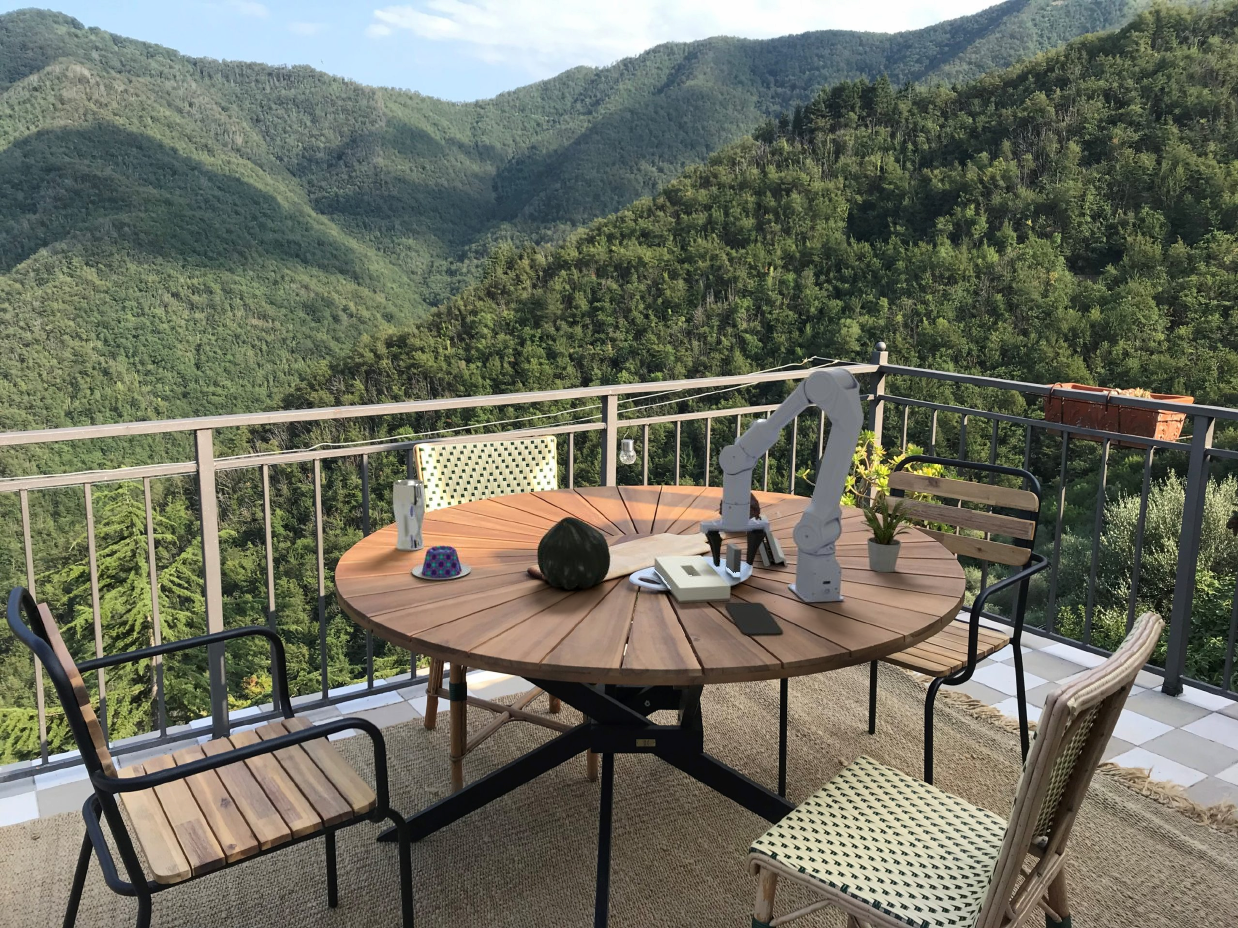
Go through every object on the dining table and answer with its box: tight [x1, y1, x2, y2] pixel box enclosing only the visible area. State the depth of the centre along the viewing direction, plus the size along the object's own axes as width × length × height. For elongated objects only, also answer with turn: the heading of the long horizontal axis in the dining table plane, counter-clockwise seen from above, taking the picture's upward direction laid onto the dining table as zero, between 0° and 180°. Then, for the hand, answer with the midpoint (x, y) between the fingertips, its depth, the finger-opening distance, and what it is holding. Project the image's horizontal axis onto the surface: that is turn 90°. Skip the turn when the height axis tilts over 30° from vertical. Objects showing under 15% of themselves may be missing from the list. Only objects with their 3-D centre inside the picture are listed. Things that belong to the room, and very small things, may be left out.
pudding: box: [411, 545, 472, 580], centre depth 179 cm, size 12×12×5 cm
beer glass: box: [392, 479, 426, 552], centre depth 194 cm, size 7×7×15 cm
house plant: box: [860, 496, 922, 573], centre depth 187 cm, size 14×14×16 cm
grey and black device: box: [750, 514, 788, 567], centre depth 195 cm, size 17×5×10 cm, turn 176°
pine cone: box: [718, 492, 761, 520], centre depth 219 cm, size 18×10×10 cm, turn 12°
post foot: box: [653, 554, 731, 604], centre depth 174 cm, size 20×10×3 cm, turn 11°
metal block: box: [725, 542, 742, 573], centre depth 182 cm, size 5×2×6 cm, turn 11°
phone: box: [724, 601, 784, 637], centre depth 156 cm, size 7×1×15 cm
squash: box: [536, 516, 611, 591], centre depth 172 cm, size 14×15×15 cm
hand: (733, 564), depth 182 cm, fingers open, 7 cm apart
